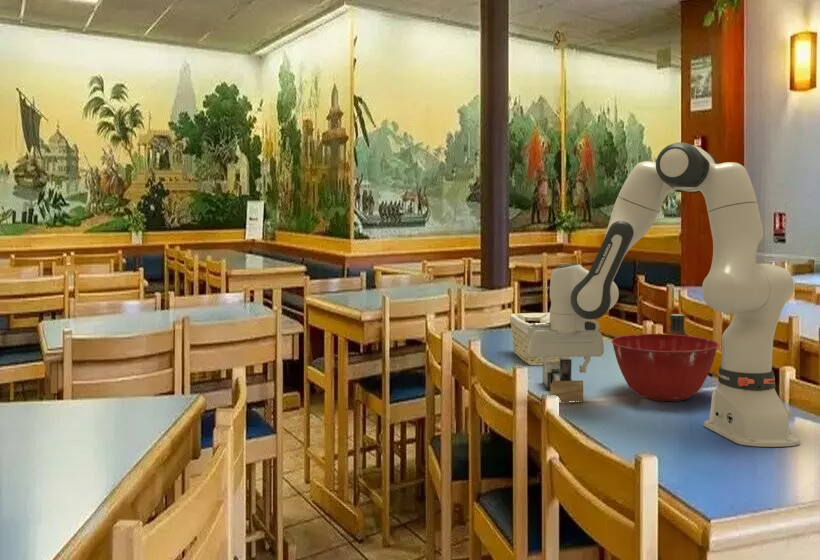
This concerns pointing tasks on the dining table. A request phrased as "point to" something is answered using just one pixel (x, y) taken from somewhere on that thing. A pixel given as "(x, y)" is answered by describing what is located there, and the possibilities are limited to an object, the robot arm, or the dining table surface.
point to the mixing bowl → (664, 364)
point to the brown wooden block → (567, 390)
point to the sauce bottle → (677, 324)
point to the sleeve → (548, 376)
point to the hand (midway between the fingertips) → (565, 372)
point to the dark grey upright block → (563, 371)
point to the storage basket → (522, 337)
